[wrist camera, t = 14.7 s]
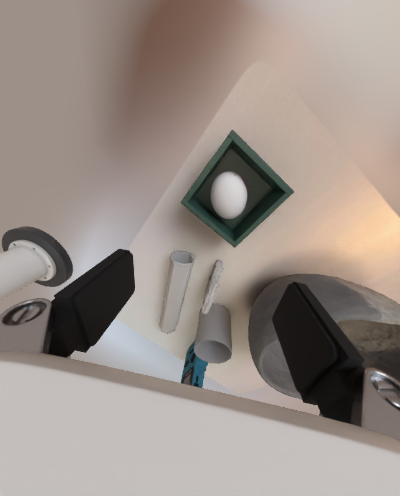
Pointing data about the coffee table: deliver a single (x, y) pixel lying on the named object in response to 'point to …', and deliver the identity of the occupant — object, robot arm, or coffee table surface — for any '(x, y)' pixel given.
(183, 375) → the handheld gaming console
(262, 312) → the bowl
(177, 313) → the tube
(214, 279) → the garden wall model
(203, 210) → the bin
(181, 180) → the coffee table surface
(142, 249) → the coffee table surface
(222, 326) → the cup
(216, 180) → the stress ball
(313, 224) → the coffee table surface
